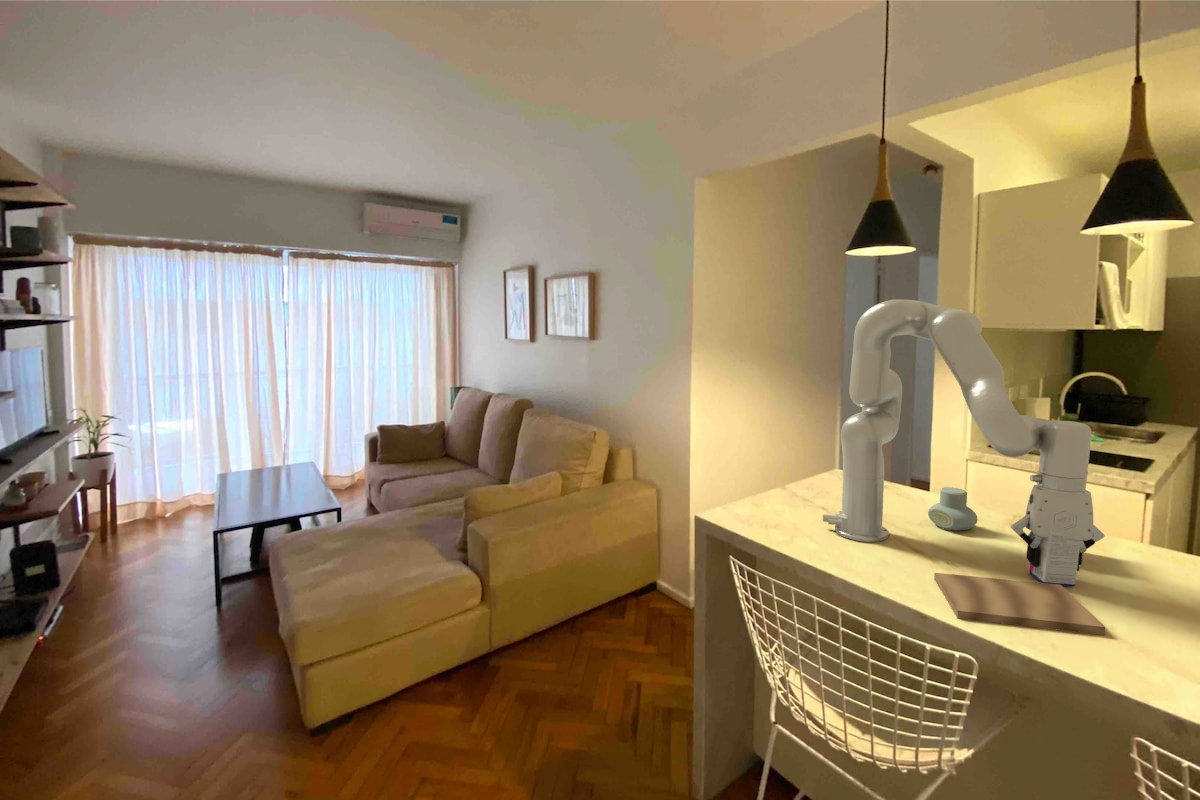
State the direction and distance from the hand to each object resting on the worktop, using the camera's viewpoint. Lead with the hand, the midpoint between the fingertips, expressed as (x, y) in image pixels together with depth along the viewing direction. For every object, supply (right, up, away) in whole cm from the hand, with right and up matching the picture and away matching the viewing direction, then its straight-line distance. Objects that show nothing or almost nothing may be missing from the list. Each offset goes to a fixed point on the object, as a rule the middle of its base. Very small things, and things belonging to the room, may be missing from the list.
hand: (1053, 565), depth 114 cm
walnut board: (-15, -5, -8) cm, 18 cm away
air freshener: (-1, +1, +31) cm, 31 cm away
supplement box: (0, -3, 0) cm, 3 cm away
